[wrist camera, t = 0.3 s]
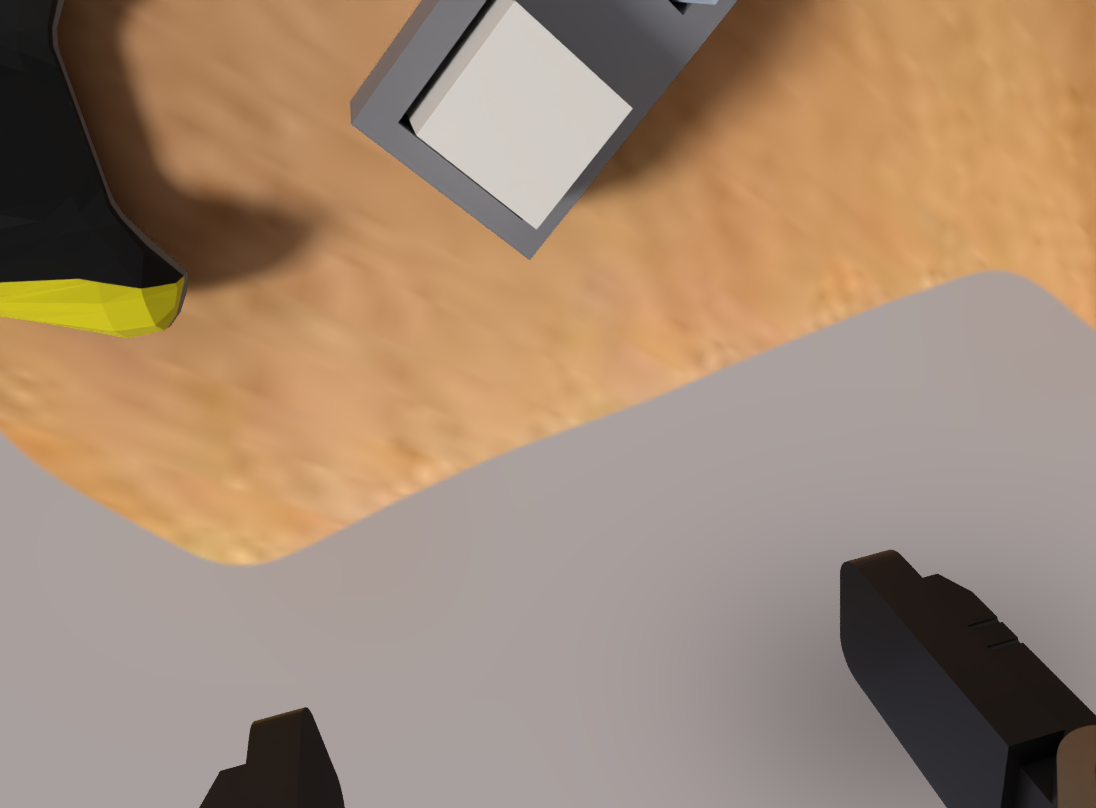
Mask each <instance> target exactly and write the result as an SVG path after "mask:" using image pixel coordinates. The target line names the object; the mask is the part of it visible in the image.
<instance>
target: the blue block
mask: <svg viewBox="0 0 1096 808" xmlns="http://www.w3.org/2000/svg"><path fill="white" fill-rule="evenodd" d="M668 1H674V2H687V3H699V4H711V5H715V4H716V3H717V2H718V0H668Z"/></svg>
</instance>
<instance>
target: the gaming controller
mask: <svg viewBox="0 0 1096 808" xmlns="http://www.w3.org/2000/svg"><path fill="white" fill-rule="evenodd" d="M64 1H65V0H0V316H1V317H7V318H14V319H21V320H27V321H34V322H40V323H46V324H52V325H58V326H64V327H70V328H75V329H81V330H86V331H91V332H97V333H102V334H108V335H113V336H119V337H124V338H130V337H135V336H140V335H145V334H150V333H154V332H159V331H164V330H166V329H167V328H168V327H170V326H171V325H172V323H173V322H174V320H175V319H176V317H177V316H178V315H179V313H180V311H181V308H182V305H183V302H184V299H185V296H186V291H187V285H188V273H187V271H186V270H185V269H184V268H183V267H182V266H180V265H179V264H178V263H177V262H176V261H175V260H174V259H172V258H171V257H170V256H169V255H168V254H167V253H165V252H164V251H163V250H162V249H161V248H160V247H159V246H157V245H156V244H155V243H154V242H153V241H152V240H151V239H149V238H148V237H147V236H146V235H145V234H144V233H143V232H142V231H141V230H140V229H139V228H138V227H137V226H136V225H134V224H133V223H132V222H131V221H130V220H129V219H128V218H127V217H126V216H125V215H124V213H123V212H122V211H121V209H120V208H119V206H118V205H117V203H116V202H115V200H114V199H113V196H112V194H111V191H110V189H109V186H108V184H107V181H106V179H105V176H104V173H103V170H102V168H101V165H100V162H99V159H98V157H97V154H96V151H95V148H94V146H93V143H92V140H91V137H90V135H89V132H88V129H87V126H86V124H85V121H84V118H83V115H82V113H81V110H80V107H79V104H78V102H77V99H76V96H75V93H74V90H73V88H72V85H71V82H70V79H69V77H68V74H67V71H66V68H65V66H64V63H63V59H62V56H61V53H60V50H59V47H58V34H57V26H58V22H59V19H60V15H61V11H62V8H63V4H64Z"/></svg>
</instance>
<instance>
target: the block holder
mask: <svg viewBox="0 0 1096 808" xmlns="http://www.w3.org/2000/svg"><path fill="white" fill-rule="evenodd" d="M515 1H516V2H517V3H518V4H519V5H521V6H522V7H523V8H524V9H525V10H526V11H527V12H528V13H529V14H530V15H531V16H533V17H534V18H535V19H536V20H537V21H538V22H539V23H540V24H541V25H542V26H543V27H545V28H546V29H547V30H548V31H549V32H550V33H551V34H552V35H553V36H554V37H555V38H556V39H558V40H559V41H560V42H561V43H562V44H563V45H564V46H565V47H566V48H567V49H568V50H570V51H571V52H572V53H573V54H574V55H575V56H576V57H577V58H578V59H579V60H580V61H582V62H583V63H584V64H585V65H586V66H587V67H588V68H589V69H590V70H591V71H592V72H594V73H595V74H596V75H597V76H598V77H599V78H600V79H601V80H602V81H603V82H604V83H606V84H607V85H608V86H609V87H610V88H611V89H612V90H613V91H614V92H615V93H616V94H618V95H619V96H620V97H621V98H622V99H623V100H624V101H625V102H626V103H627V104H628V105H630V106H631V107H632V108H633V109H632V110H631V111H630V113H629V114H628V115H627V116H626V118H625V119H624V120H623V121H622V123H621V124H620V125H619V126H618V128H617V129H616V130H615V131H614V133H613V134H612V135H611V137H610V138H609V139H608V140H607V142H606V143H605V144H604V145H603V147H602V148H601V149H600V150H599V152H598V153H597V154H596V155H595V157H594V158H593V159H592V160H591V162H590V163H589V164H588V166H587V167H586V168H585V169H584V171H583V172H582V173H581V174H580V176H579V177H578V178H577V179H576V181H575V182H574V183H573V184H572V186H571V187H570V188H569V189H568V191H567V192H566V193H565V194H564V196H563V197H562V198H561V200H560V201H559V202H558V203H557V205H556V206H555V207H554V208H553V210H552V211H551V212H550V213H549V215H548V216H547V217H546V218H545V220H544V221H543V222H542V223H541V225H540V226H539V227H538V229H537V230H536V229H535V228H534V227H533V226H531V225H530V224H529V223H527V222H526V221H525V220H524V219H522V218H521V217H520V216H519V215H517V214H516V213H515V212H513V211H512V210H511V209H510V208H508V207H507V206H506V205H505V204H503V203H502V202H501V201H499V200H498V199H497V198H496V197H494V196H493V195H492V194H490V193H489V192H488V191H487V190H485V189H484V188H483V187H482V186H480V185H479V184H478V183H476V182H475V181H474V180H473V179H471V178H470V177H469V176H468V175H466V174H465V173H464V172H462V171H461V170H460V169H459V168H457V167H456V166H455V165H454V164H452V163H451V162H450V161H448V160H447V159H446V158H445V157H443V156H442V155H441V154H439V153H438V152H437V151H436V150H434V149H433V148H432V147H431V146H429V145H428V144H427V143H425V142H424V141H423V140H422V139H420V138H419V137H418V136H417V135H416V134H415V131H414V129H413V127H412V125H411V122H410V120H409V118H408V116H407V114H406V113H405V112H406V111H407V109H408V108H409V107H410V105H411V104H412V102H413V101H414V100H415V98H416V97H417V96H418V94H419V93H420V91H421V90H422V89H423V87H424V86H425V84H426V83H427V82H428V80H429V79H430V78H431V76H432V75H433V73H434V72H435V71H436V69H437V68H438V67H439V65H440V64H441V62H442V61H443V60H444V58H445V57H446V56H447V54H448V53H449V51H450V50H451V49H452V47H453V46H454V45H455V43H456V42H457V40H458V39H459V38H460V36H461V35H462V33H463V32H464V31H465V29H466V28H467V27H468V25H469V24H470V22H471V21H472V20H473V18H474V17H475V16H476V14H477V13H478V11H479V10H480V9H481V7H482V6H483V5H484V3H485V2H486V0H422V1H421V2H420V4H419V5H418V7H417V8H416V9H415V11H414V12H413V14H412V15H411V17H410V18H409V19H408V21H407V22H406V24H405V25H404V26H403V28H402V29H401V31H400V32H399V33H398V35H397V36H396V38H395V39H394V41H393V42H392V43H391V45H390V46H389V48H388V49H387V50H386V52H385V53H384V55H383V56H382V58H381V59H380V60H379V62H378V63H377V65H376V66H375V67H374V69H373V70H372V72H371V73H370V75H369V76H368V77H367V79H366V80H365V82H364V83H363V84H362V86H361V87H360V89H359V90H358V92H357V93H356V94H355V96H354V97H353V99H352V100H351V101H350V107H351V124H352V125H353V126H354V127H356V128H357V129H358V130H360V131H361V132H362V133H363V134H365V135H366V136H367V137H369V138H370V139H371V140H373V141H374V142H375V143H377V144H378V145H379V146H381V147H382V148H383V149H384V150H386V151H387V152H388V153H390V154H391V155H392V156H394V157H395V158H396V159H398V160H399V161H400V162H402V163H403V164H404V165H405V166H407V167H408V168H409V169H411V170H412V171H413V172H415V173H416V174H417V175H419V176H420V177H421V178H423V179H424V180H425V181H426V182H428V183H429V184H430V185H432V186H433V187H434V188H436V189H437V190H438V191H440V192H441V193H442V194H444V195H445V196H446V197H447V198H449V199H450V200H451V201H453V202H454V203H455V204H457V205H458V206H459V207H461V208H462V209H463V210H465V211H466V212H467V213H468V214H470V215H471V216H472V217H474V218H475V219H476V220H478V221H479V222H480V223H482V224H483V225H484V226H486V227H487V228H488V229H489V230H491V231H492V232H493V233H495V234H496V235H497V236H499V237H500V238H501V239H503V240H504V241H505V242H507V243H508V244H509V245H510V246H512V247H513V248H514V249H516V250H517V251H518V252H520V253H521V254H522V255H524V256H525V257H526V258H528V259H529V260H530V259H531V258H532V257H533V255H534V254H535V253H536V252H537V250H538V249H539V248H540V247H541V245H542V244H543V243H544V242H545V240H546V239H547V238H548V237H549V235H550V234H551V233H552V232H553V230H554V229H555V228H556V227H557V225H558V224H559V223H560V222H561V220H562V219H563V218H564V217H565V215H566V214H567V213H568V212H569V210H570V209H571V208H572V207H573V205H574V204H575V203H576V202H577V200H578V199H579V198H580V197H581V195H582V194H583V193H584V192H585V190H586V189H587V188H588V187H589V185H590V184H591V183H592V182H593V180H594V179H595V178H596V177H597V175H598V174H599V173H600V172H601V170H602V169H603V168H604V167H605V165H606V164H607V163H608V162H609V160H610V159H611V158H612V157H613V155H614V154H615V153H616V152H617V150H618V149H619V148H620V147H621V145H622V144H623V143H624V142H625V140H626V139H627V138H628V137H629V135H630V134H631V133H632V132H633V130H634V129H635V128H636V127H637V125H638V124H639V123H640V122H641V120H642V119H643V118H644V117H645V115H646V114H647V113H648V112H649V110H650V109H651V108H652V107H653V105H654V104H655V103H656V102H657V100H658V99H659V98H660V97H661V95H662V94H663V93H664V92H665V90H666V89H667V88H668V87H669V85H670V84H671V83H672V82H673V80H674V79H675V78H676V77H677V75H678V74H679V73H680V72H681V70H682V69H683V68H684V67H685V65H686V64H687V63H688V62H689V60H690V59H691V58H692V57H693V55H694V54H695V53H696V52H697V50H698V49H699V48H700V46H701V45H702V44H703V43H704V41H705V40H706V39H707V38H708V36H709V35H710V34H711V33H712V31H713V30H714V29H715V28H716V26H717V25H718V24H719V23H720V21H721V20H722V19H723V18H724V16H725V15H726V14H727V13H728V11H729V10H730V9H731V8H732V6H733V5H734V4H735V3H736V1H737V0H718V2H717V3H716V4H715V5H711V4H699V3H687V2H674V1H668V0H515Z"/></svg>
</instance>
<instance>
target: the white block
mask: <svg viewBox="0 0 1096 808" xmlns="http://www.w3.org/2000/svg"><path fill="white" fill-rule="evenodd" d="M632 109H633V108H632V107H631V106H630V105H628V104H627V103H626V102H625V101H624V100H623V99H622V98H621V97H620V96H619V95H618V94H616V93H615V92H614V91H613V90H612V89H611V88H610V87H609V86H608V85H607V84H606V83H604V82H603V81H602V80H601V79H600V78H599V77H598V76H597V75H596V74H595V73H594V72H592V71H591V70H590V69H589V68H588V67H587V66H586V65H585V64H584V63H583V62H582V61H580V60H579V59H578V58H577V57H576V56H575V55H574V54H573V53H572V52H571V51H570V50H568V49H567V48H566V47H565V46H564V45H563V44H562V43H561V42H560V41H559V40H558V39H556V38H555V37H554V36H553V35H552V34H551V33H550V32H549V31H548V30H547V29H546V28H545V27H543V26H542V25H541V24H540V23H539V22H538V21H537V20H536V19H535V18H534V17H533V16H531V15H530V14H529V13H528V12H527V11H526V10H525V9H524V8H523V7H522V6H521V5H519V4H518V3H517V2H516V1H515V0H486V2H485V3H484V5H483V6H482V7H481V9H480V10H479V11H478V13H477V14H476V16H475V17H474V18H473V20H472V21H471V22H470V24H469V25H468V27H467V28H466V29H465V31H464V32H463V33H462V35H461V36H460V38H459V39H458V40H457V42H456V43H455V45H454V46H453V47H452V49H451V50H450V51H449V53H448V54H447V56H446V57H445V58H444V60H443V61H442V62H441V64H440V65H439V67H438V68H437V69H436V71H435V72H434V73H433V75H432V76H431V78H430V79H429V80H428V82H427V83H426V84H425V86H424V87H423V89H422V90H421V91H420V93H419V94H418V96H417V97H416V98H415V100H414V101H413V102H412V104H411V105H410V107H409V108H408V109H407V111H406V113H407V116H408V118H409V120H410V122H411V125H412V127H413V129H414V131H415V134H416V135H417V136H418V137H419V138H420V139H422V140H423V141H424V142H425V143H427V144H428V145H429V146H431V147H432V148H433V149H434V150H436V151H437V152H438V153H439V154H441V155H442V156H443V157H445V158H446V159H447V160H448V161H450V162H451V163H452V164H454V165H455V166H456V167H457V168H459V169H460V170H461V171H462V172H464V173H465V174H466V175H468V176H469V177H470V178H471V179H473V180H474V181H475V182H476V183H478V184H479V185H480V186H482V187H483V188H484V189H485V190H487V191H488V192H489V193H490V194H492V195H493V196H494V197H496V198H497V199H498V200H499V201H501V202H502V203H503V204H505V205H506V206H507V207H508V208H510V209H511V210H512V211H513V212H515V213H516V214H517V215H519V216H520V217H521V218H522V219H524V220H525V221H526V222H527V223H529V224H530V225H531V226H533V227H534V228H535V229H536V230H537V229H538V227H539V226H540V225H541V223H542V222H543V221H544V220H545V218H546V217H547V216H548V215H549V213H550V212H551V211H552V210H553V208H554V207H555V206H556V205H557V203H558V202H559V201H560V200H561V198H562V197H563V196H564V194H565V193H566V192H567V191H568V189H569V188H570V187H571V186H572V184H573V183H574V182H575V181H576V179H577V178H578V177H579V176H580V174H581V173H582V172H583V171H584V169H585V168H586V167H587V166H588V164H589V163H590V162H591V160H592V159H593V158H594V157H595V155H596V154H597V153H598V152H599V150H600V149H601V148H602V147H603V145H604V144H605V143H606V142H607V140H608V139H609V138H610V137H611V135H612V134H613V133H614V131H615V130H616V129H617V128H618V126H619V125H620V124H621V123H622V121H623V120H624V119H625V118H626V116H627V115H628V114H629V113H630V111H631V110H632Z"/></svg>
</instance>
